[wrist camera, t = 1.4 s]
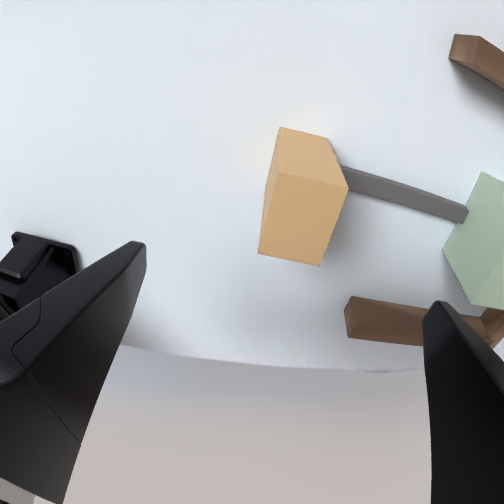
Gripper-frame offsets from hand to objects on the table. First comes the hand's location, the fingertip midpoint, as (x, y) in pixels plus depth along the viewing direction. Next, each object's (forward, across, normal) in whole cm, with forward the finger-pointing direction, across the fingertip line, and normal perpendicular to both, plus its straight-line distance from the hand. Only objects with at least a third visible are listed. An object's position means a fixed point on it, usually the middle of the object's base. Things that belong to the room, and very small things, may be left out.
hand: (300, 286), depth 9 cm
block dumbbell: (+9, -8, 0) cm, 12 cm away
